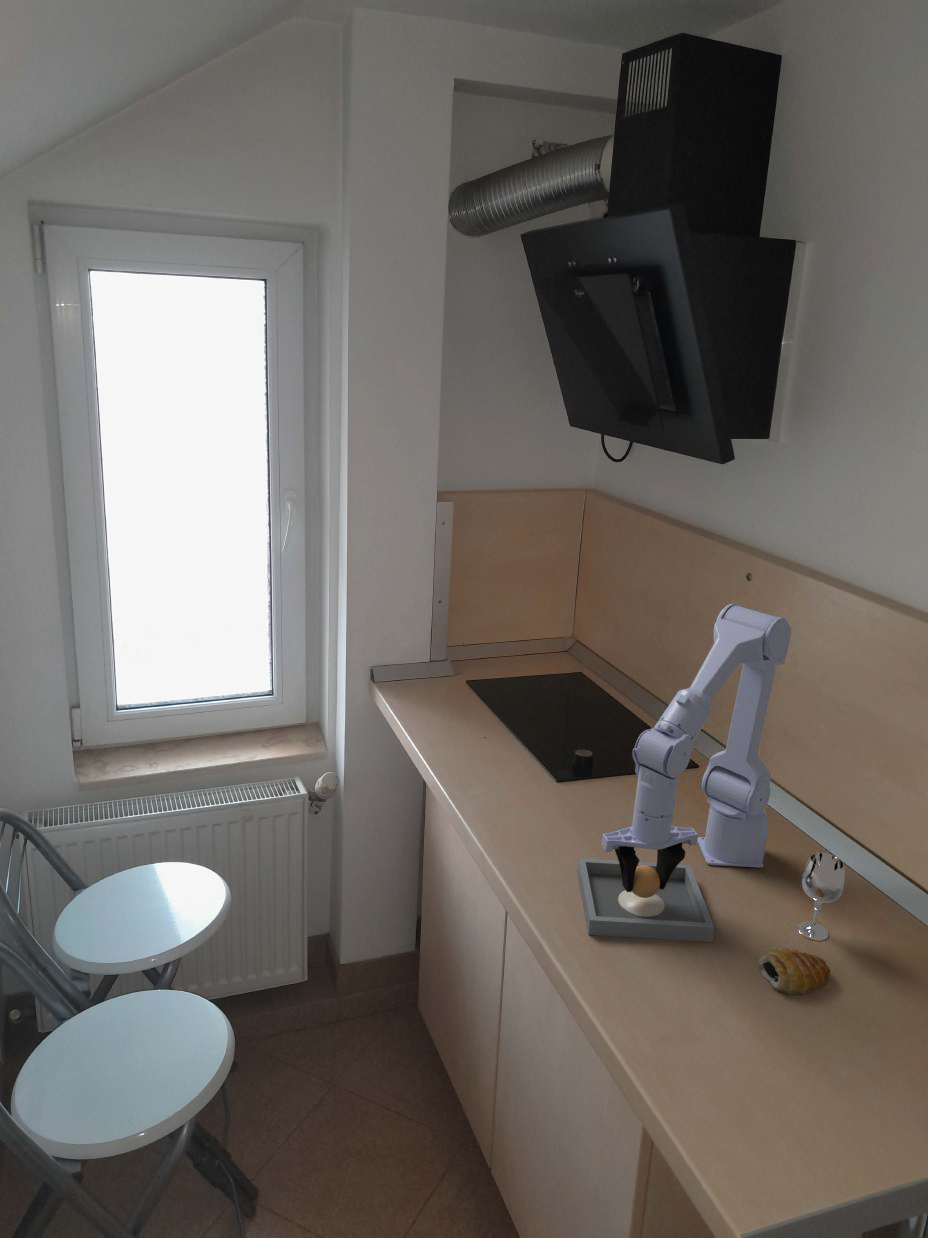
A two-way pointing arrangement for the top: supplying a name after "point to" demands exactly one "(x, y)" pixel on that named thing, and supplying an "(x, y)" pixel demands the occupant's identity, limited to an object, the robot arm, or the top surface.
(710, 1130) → the top surface
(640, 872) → the ball
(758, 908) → the top surface
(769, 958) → the pastry
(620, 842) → the robot arm
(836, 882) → the wineglass
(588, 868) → the grey serving tray
